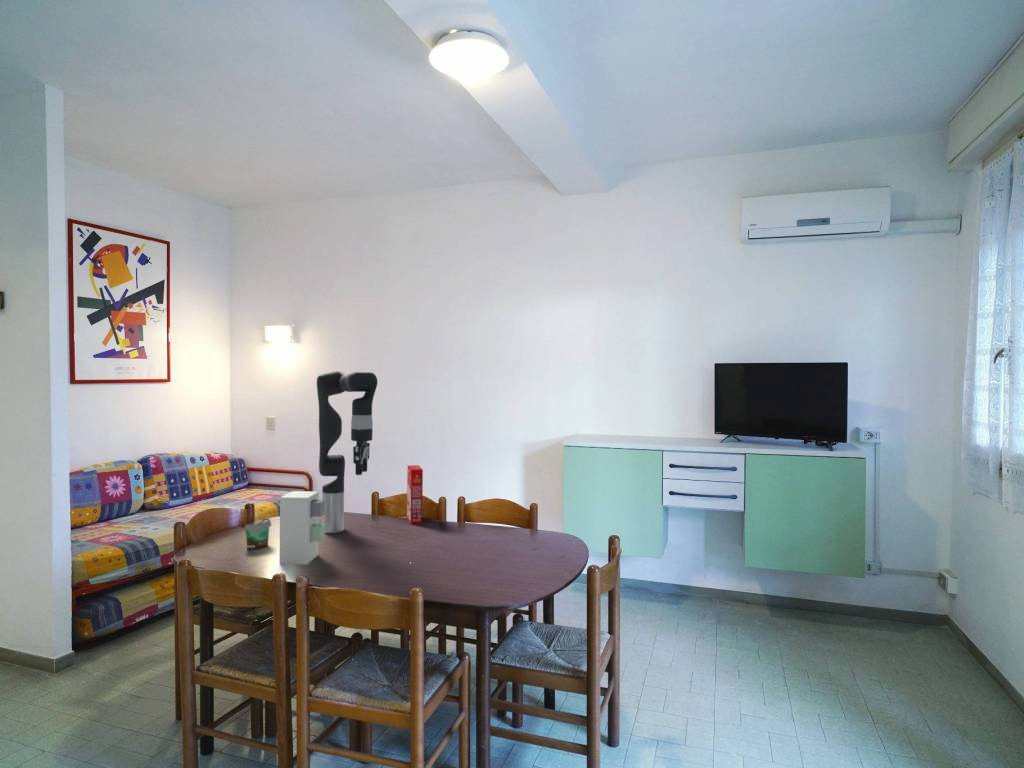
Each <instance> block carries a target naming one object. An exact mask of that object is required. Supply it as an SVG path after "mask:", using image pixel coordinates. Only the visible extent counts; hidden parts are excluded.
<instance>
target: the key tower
mask: <svg viewBox="0 0 1024 768" xmlns="http://www.w3.org/2000/svg"><path fill="white" fill-rule="evenodd" d="M319 493H320V492H319V491H309V490H308V491H301V490H300V491H297V490H296V491H295V490H293V491H290V492H288V493H286V494H284V495H282V496H280V498H279V565H308V564H310V563H311V562H312V561H313V560H314V559H315V558H317V557H318V555H319V541H310V526H312V525H313V524H319V517H314V516H311V501H313V500H320V496H319V495H320V494H319Z"/></svg>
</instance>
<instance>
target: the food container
mask: <svg viewBox="0 0 1024 768" xmlns="http://www.w3.org/2000/svg"><path fill="white" fill-rule="evenodd" d="M271 527H272V521H271V520H270V518H265V517H263V518H262V520H261V521H257V522H256V521H255V522H253V523H252V524H251V523H250V524H245V526H244V530H245V533H246V534H245V535H246V536H245V537H246V550H251V551H252V550H262V549H265V548H267V547H268V546H269V537H270V536H269V535H270V528H271Z"/></svg>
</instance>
